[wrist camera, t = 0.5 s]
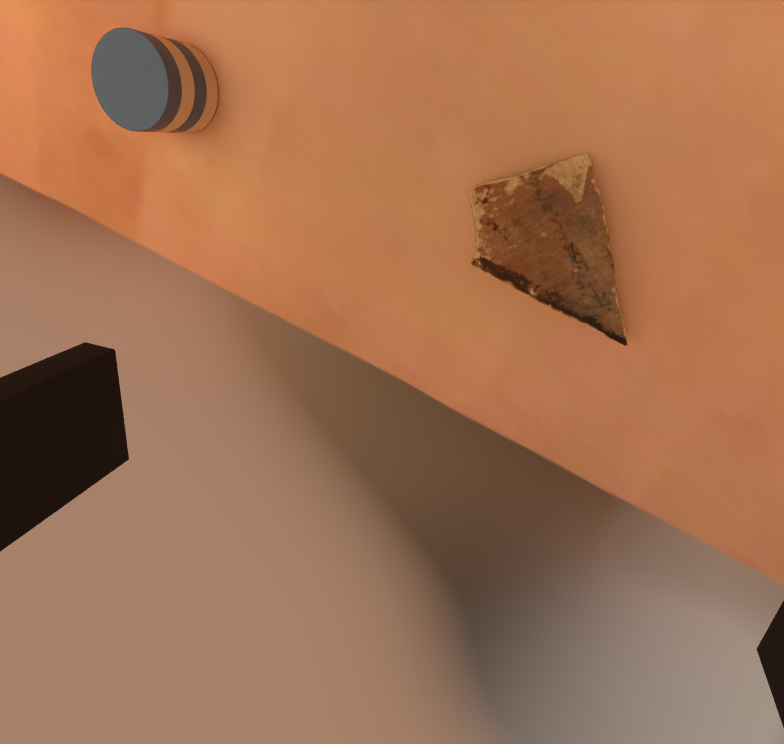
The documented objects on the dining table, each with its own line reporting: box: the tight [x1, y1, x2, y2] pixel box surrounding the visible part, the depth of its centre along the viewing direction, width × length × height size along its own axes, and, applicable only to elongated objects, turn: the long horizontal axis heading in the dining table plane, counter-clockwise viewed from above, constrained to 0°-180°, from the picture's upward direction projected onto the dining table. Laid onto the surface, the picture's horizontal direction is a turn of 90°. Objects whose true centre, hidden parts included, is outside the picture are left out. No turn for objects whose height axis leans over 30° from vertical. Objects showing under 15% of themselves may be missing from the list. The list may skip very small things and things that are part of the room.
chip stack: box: [91, 28, 218, 133], centre depth 33 cm, size 5×5×5 cm
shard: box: [469, 153, 627, 346], centre depth 32 cm, size 11×8×2 cm
